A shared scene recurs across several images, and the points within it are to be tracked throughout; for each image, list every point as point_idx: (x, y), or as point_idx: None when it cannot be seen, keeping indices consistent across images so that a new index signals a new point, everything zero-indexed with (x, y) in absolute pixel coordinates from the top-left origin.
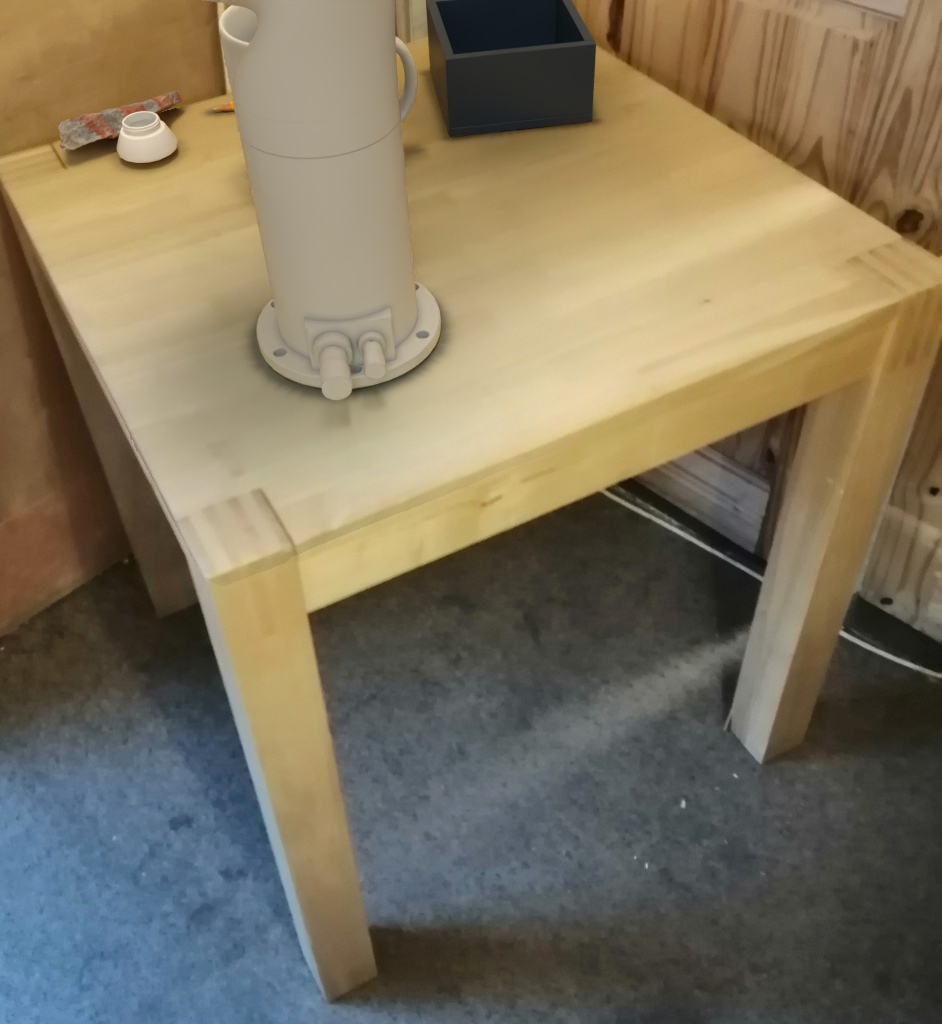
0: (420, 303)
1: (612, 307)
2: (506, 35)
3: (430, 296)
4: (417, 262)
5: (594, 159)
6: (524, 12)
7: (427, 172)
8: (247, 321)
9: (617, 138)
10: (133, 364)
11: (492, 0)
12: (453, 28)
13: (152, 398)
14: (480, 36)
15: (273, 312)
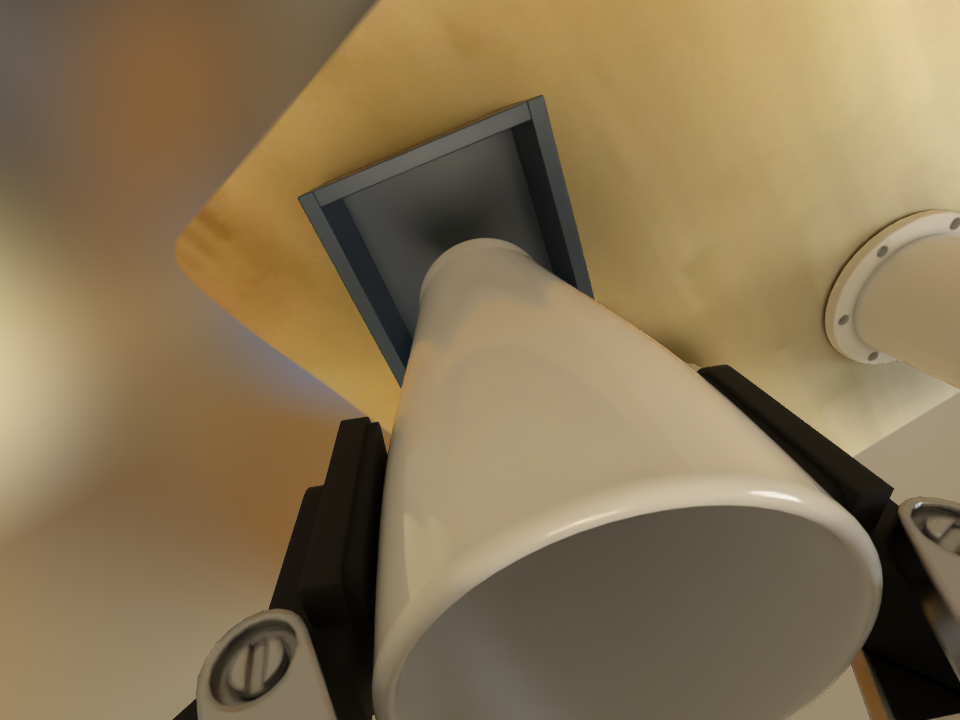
0: (910, 237)
1: (937, 21)
2: (371, 272)
3: (901, 230)
4: (806, 260)
5: (617, 86)
6: (353, 254)
7: (642, 294)
8: (857, 371)
9: (559, 54)
10: (885, 423)
11: (375, 309)
12: (404, 346)
13: (926, 397)
14: (388, 308)
15: (883, 355)
